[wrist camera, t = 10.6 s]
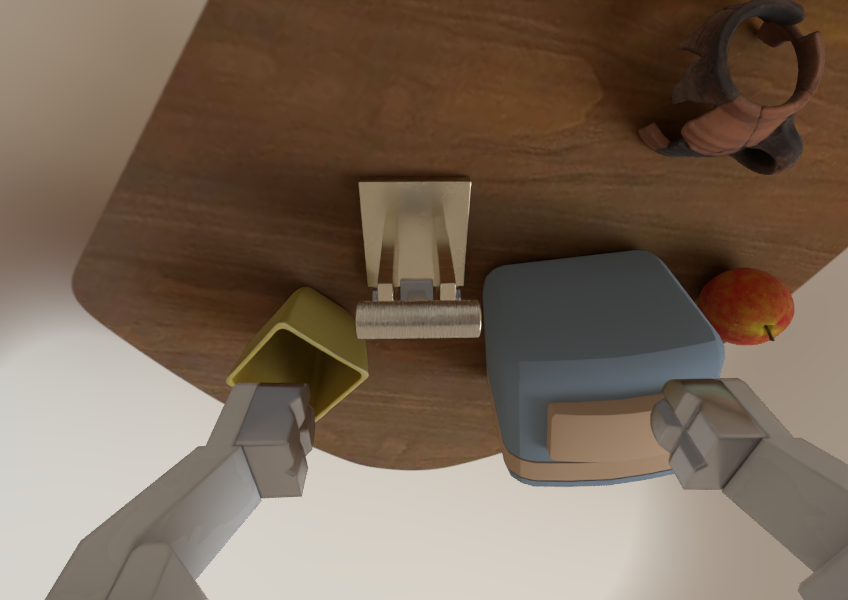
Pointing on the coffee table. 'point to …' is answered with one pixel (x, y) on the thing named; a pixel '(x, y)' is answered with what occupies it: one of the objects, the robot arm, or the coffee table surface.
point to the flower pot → (306, 350)
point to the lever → (418, 315)
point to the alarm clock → (589, 364)
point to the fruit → (746, 306)
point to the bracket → (415, 232)
